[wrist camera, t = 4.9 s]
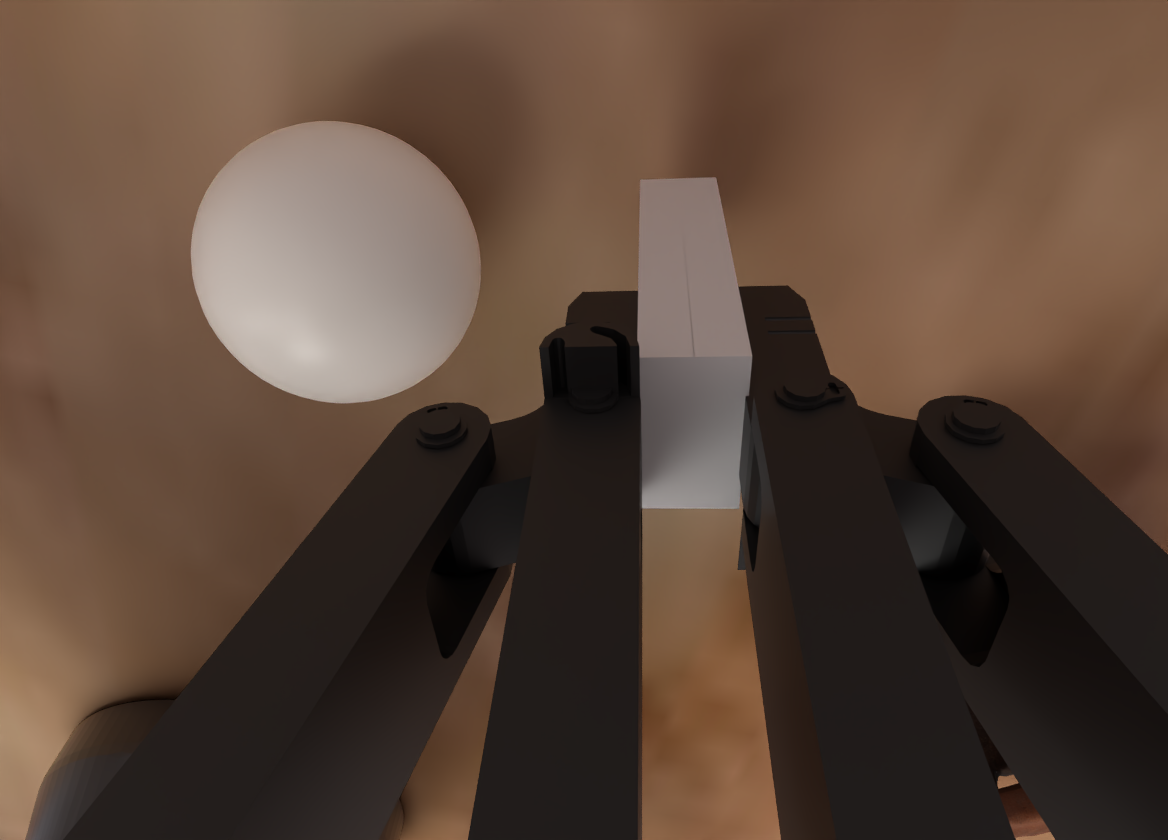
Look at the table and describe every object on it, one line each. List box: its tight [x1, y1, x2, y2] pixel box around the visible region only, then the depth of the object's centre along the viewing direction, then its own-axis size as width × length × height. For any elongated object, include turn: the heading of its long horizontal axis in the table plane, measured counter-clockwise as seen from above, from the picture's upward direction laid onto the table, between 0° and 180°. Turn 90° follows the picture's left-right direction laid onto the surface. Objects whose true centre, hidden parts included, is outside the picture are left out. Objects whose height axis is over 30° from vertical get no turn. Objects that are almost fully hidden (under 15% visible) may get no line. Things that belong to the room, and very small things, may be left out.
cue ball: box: [191, 121, 481, 403], centre depth 16 cm, size 6×6×6 cm
